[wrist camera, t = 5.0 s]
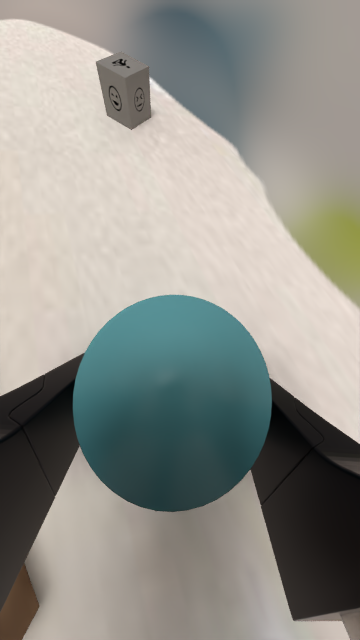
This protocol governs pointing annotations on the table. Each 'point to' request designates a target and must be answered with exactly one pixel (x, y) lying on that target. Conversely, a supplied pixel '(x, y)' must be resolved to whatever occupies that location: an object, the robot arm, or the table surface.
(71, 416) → the robot arm
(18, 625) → the walnut block
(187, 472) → the teal cylinder
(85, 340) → the table surface
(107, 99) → the dice cube
